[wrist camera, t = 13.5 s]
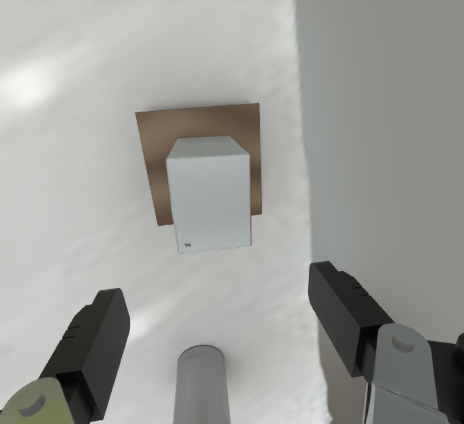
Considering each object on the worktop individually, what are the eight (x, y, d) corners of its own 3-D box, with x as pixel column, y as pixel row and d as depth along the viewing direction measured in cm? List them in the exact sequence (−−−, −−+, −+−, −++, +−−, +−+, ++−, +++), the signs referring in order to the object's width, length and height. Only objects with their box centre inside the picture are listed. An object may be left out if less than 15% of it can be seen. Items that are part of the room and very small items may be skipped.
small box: (233, 197, 34) (252, 248, 22) (184, 201, 33) (176, 256, 21) (230, 133, 31) (251, 152, 19) (176, 136, 30) (162, 158, 18)
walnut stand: (254, 201, 40) (262, 214, 35) (162, 211, 39) (158, 226, 34) (251, 103, 34) (259, 103, 30) (143, 111, 33) (135, 112, 29)
